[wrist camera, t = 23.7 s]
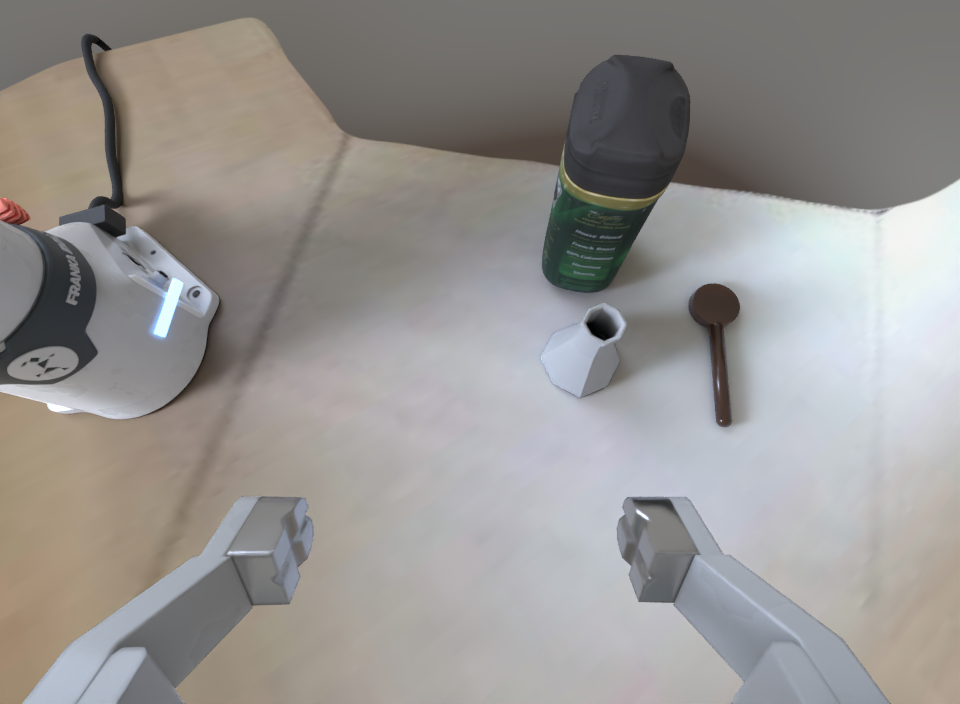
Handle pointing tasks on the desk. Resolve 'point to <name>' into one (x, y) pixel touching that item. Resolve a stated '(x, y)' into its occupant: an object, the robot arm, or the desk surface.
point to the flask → (585, 351)
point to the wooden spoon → (717, 338)
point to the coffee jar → (613, 167)
